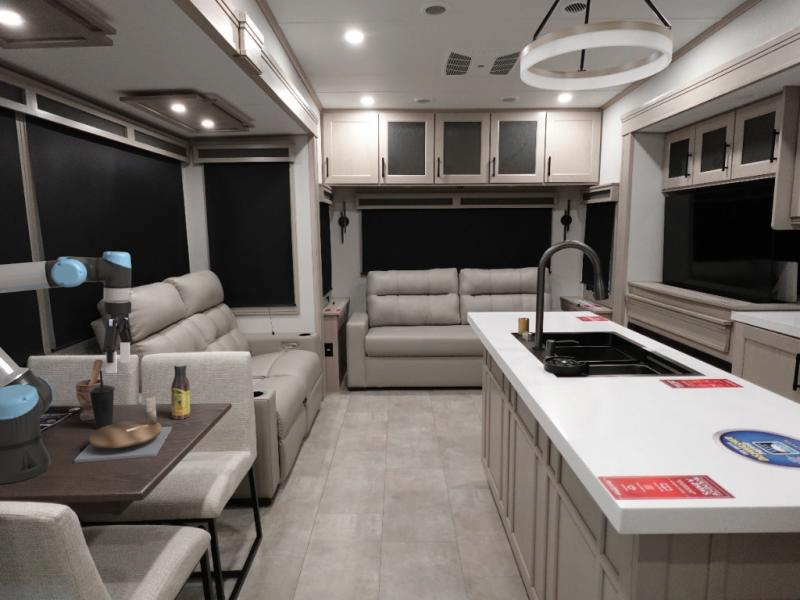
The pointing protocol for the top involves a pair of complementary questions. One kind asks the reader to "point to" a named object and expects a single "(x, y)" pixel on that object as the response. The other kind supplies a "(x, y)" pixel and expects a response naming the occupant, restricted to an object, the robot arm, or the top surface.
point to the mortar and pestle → (84, 388)
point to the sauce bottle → (180, 393)
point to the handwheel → (128, 430)
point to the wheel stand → (125, 449)
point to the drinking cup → (102, 403)
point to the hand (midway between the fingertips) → (118, 367)
